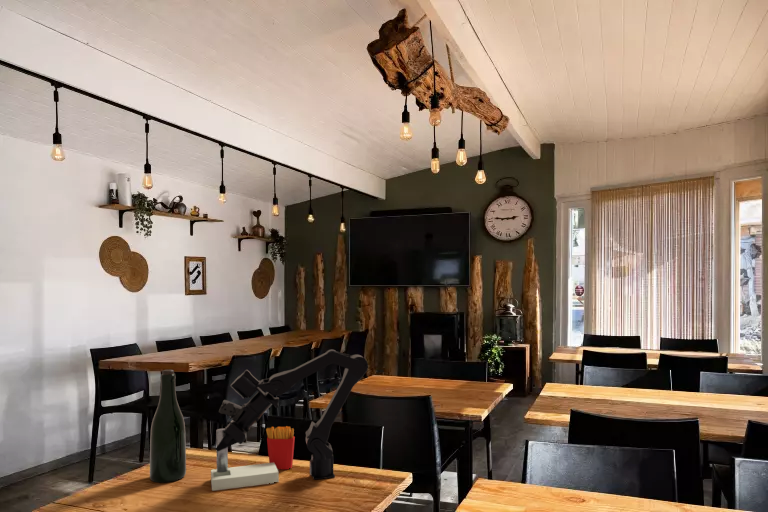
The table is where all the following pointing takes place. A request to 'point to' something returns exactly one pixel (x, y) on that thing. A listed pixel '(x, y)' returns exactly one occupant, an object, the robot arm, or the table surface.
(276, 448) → the french fries
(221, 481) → the socket board
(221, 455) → the peg
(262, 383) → the robot arm
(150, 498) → the table surface
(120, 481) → the table surface
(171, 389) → the beer bottle
